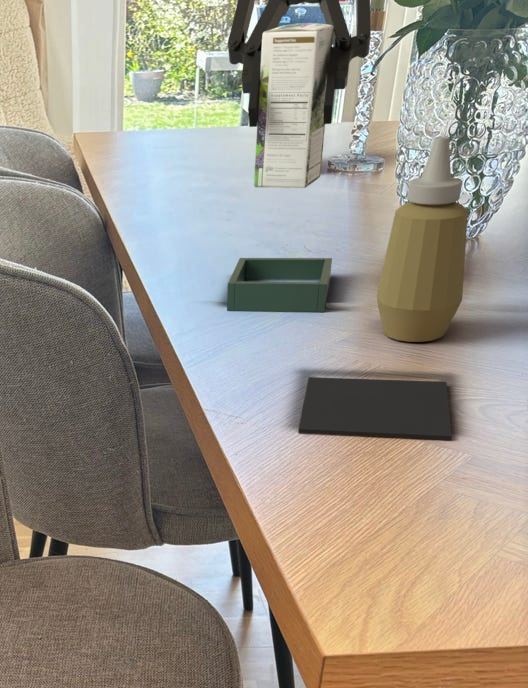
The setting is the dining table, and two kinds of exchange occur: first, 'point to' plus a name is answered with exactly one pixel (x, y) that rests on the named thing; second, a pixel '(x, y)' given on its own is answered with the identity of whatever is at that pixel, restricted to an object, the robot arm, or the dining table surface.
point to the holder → (279, 285)
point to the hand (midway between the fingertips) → (289, 116)
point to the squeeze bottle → (425, 255)
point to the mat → (376, 408)
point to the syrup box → (292, 105)
